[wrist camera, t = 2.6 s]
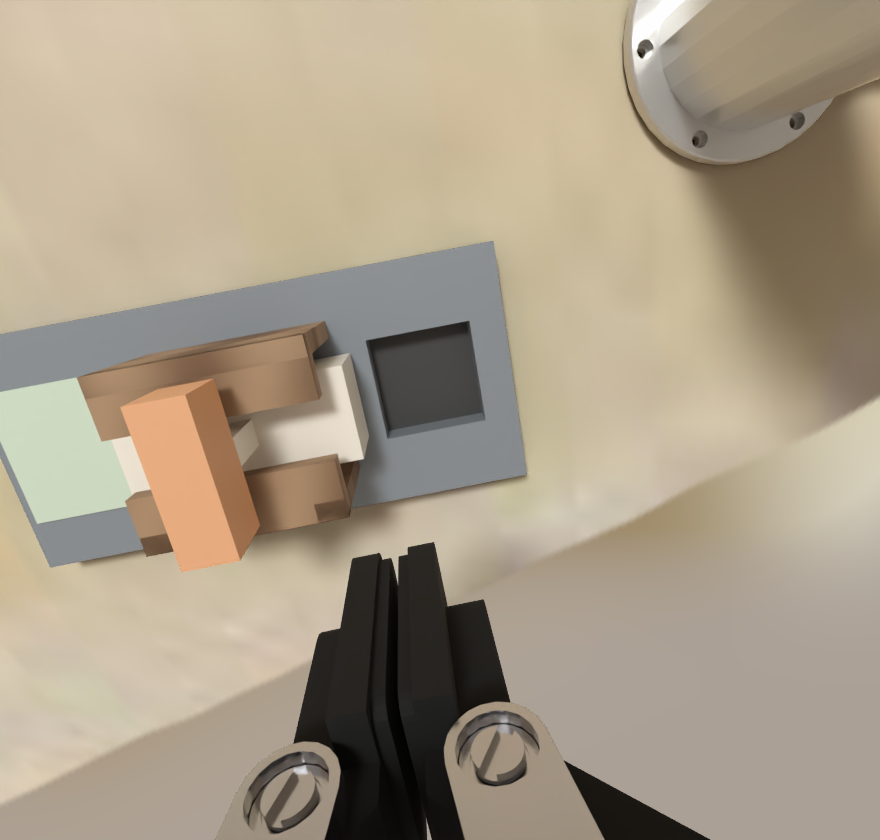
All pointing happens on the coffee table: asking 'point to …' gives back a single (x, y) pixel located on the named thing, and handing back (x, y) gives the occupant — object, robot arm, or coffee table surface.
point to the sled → (229, 455)
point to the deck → (349, 331)
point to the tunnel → (241, 392)
